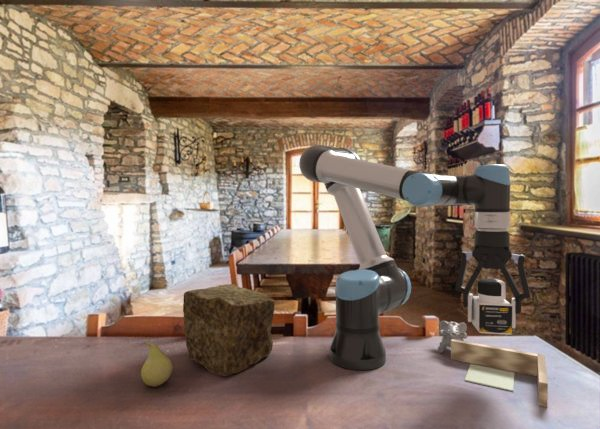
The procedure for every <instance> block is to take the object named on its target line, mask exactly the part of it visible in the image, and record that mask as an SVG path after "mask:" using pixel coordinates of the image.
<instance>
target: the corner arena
mask: <svg viewBox="0 0 600 429" xmlns="http://www.w3.org/2000/svg"><path fill="white" fill-rule="evenodd" d="M450 360H455V361H460V362H463V363H464V362H465V363H468V364H474V365H479V366H484V367H489V368H494V369H499V370H504V371H509V372H514V373H519V374H523V375H530V376H534V377H536V378H537V380H536V381H537V398H538V406H539V407H543V408H544V407H545V408H548V398H549V396H548V393H549V392H548V390H549V389H548V388H549V386H548V385H549V384H548V375H547V366H546V356H545V354H539V353H534V352H528V351H522V350H516V349H512V348H506V347H500V346H493V345H489V344H482V343H476V342H470V341H466V340H464V341H460V340H454V339H452V340H451V348H450Z"/></svg>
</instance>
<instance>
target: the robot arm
mask: <svg viewBox="0 0 600 429" xmlns="http://www.w3.org/2000/svg"><path fill="white" fill-rule="evenodd" d="M298 162H299V166H298V167H299V170H300V172H301V174H302V175H303V177H305V178H306V180H308V181H310V182H315V183H322V184H324V186H325V189H326V191H327V194H330V195H332V196H333V197H334V199H335V200H334V201H335V202H336V205H337V208H338V210H339V213H340V216H341V218H342V221H343V224H344V226H345V229H346V232H347V234H348V236H349V237H348V238H349V240H350V242H351V244H352V248H353V250H354V253H355V255H356V258H357V260H358V264H359V268H358V269H355V270H354V269H351V270H348V271H344V272H341V274H339V275H338V276H337V278H336V282H335V288H334V290H335V291H334V292H335V332H334V335H333V338H332V341H331V345H330V347H329V359H330V361H331V362H332V363H333V364H335V365H337V366H338V367H341V368H343V369H348V370H355V371H368V370H374V369H377V368H381V367H382V366H383V365H384V364H385V363H386V362H387V359H386V358H387V352H386V351H387V350H386V348H385V346H384V343H383V339H382V336H381V333H380V315H382V314H384V313H385V312H389V311H391V310H392V311H393V310H395V309H398V308H400V307H401V306H402V305H404V304H405V303H406V302H407V301H408V300H409V298H410V296H411V292H412V283H411V280H410V277H409V276H408V274H407V273H406V272H405V271H404V270H402V269H401V268H399V267H398V266H397V264H396V261H395V259H394V258H392V257H390V256H388V255H387V253H386V250H385V248H384V245H383V243H382V240H381V238H380V235H379V232H378V231H377V227H376V225H375V222H374V220H373V219H372V218H373V217H372V214H371V213H370V211H369V208H368V205H367V203H366V201H365V198H364V195H363V193H362V190H363V191H367V192H371V193H375V194H379V195H381V196H382V195H383V196H387V197H391V198H395V199H399V200H403V201H406V202H407V203H409V204H410V205H413V206H416V207H420V208H421V207H422V208H424V207H426V208H427V207H433V206H434V207H435V206H439V207H440V206H474V228H475V229H476V230H475V231H474V235H473V236H474V243H473V245H474V248H473V250H472V251H464V250H463V251H462V252H460V254H459V256H460V261H461V262H460V266H459V270H458V273H457V274H458V275H457V279H456V284H455V291H456V292H460V293H461V294H462V303H463V304H462V305H463V307H464V308H467V322H468V323H472V319H473V296H474V294H473V293H471V289H472V288H473V286H474V284H475V282H476V280H477V278H478V276H479V275H480V273H481V271H482V269H485V270H488V269H492V270H497V271H499V270H500V273H501V274H502V276H503V278H504V279H505V281H506V284H507V285H508V287H509V289H510V291H511V294H512V295H513V297H511V304H512V329H516V314H518V315H520V314H521V313H522V301H523V300H526V299H530V298H531V291H530V286H529V283H528V279H527V275H526V274H527V273H526V271H525V270H526V269H525V266H524V265H525V259H526V256H525V255H524V254H522V253H521V254H516V253H512V251H511V249H510V248H511V247H510V244H511V242H510V241H511V240H510V239H511V237H510V232H509V229H510V228H511V211H510V210H511V209H510V205H511V203H510V202H511V184H512V183H511V176H510V175H511V174H510V168H509V166H508V165H506V164H499V163H498V164H482V165H478V166H476V167H475V168H474V172H473V174H467V175H464V174H462V175H460V174H459V175H445V174H434V173H428V172H423V171H418V170H412V169H409V168H403V167H398V166H392V165H387V164H382V163H377V162H373V161H372V162H371V161H368V160H362V159H361V158H360V156H359V155H358V154H357V153H356V152H355V151H353V150H352V149H349V148H346V147H335V146H329V145H323V144H314V145H311V146H309V147H307V148H306V149H304V151H303V152H302V154H301V155H300V159H299V161H298ZM471 257H473V258H474V260H475V261H476V263H478V264H477V266H476V267H475V269H474V271H473V272H472V274H471V276H470V278H469V280H468V282H467V283H466V285H465V286H464V285H463V284H464V279H465V275H466V271H467V267H468V262H469V261H470V260H471ZM511 259H512V260H513V263H514V264H516V265H517V271H518V275H519V278H520V279H519V281H520V283H521V287H522V292H521V291H520V290H519V288H518V286H517V284H516V282H515V280H514V278H513V277H512V275H511V273H510V271H509V268H508V266H507V265H506V264H507V263H508V262H510V260H511Z"/></svg>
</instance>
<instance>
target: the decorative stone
mask: <svg viewBox="0 0 600 429" xmlns="http://www.w3.org/2000/svg"><path fill="white" fill-rule="evenodd" d="M182 311H183V312H182V313H183V328H184V336H185V346H186V350H187V351H188V352H187V354H188V355H187V357H188V359H189V360H193V361H195V362H196V363H197V364H198V365H202V366H203V367H204V368H205V369H206V370H208V372H209V373H213V374H216V375H219V376H223V377H228V376H229V375H231V374H234V373H239V372H241V371H243V370H245V369H247V368H248V367H249V366H250V365H254V364H257V363H258V362H259V361H260V360H261V359H263V358H265V357H269V356H270V355H271V353H272V350H273V345H274V342H273V341H274V340H273V335H272V333H271V330H272V324H273V319H274V316H275V300H274V299H273V297H272V298H271V297H270V296H269V295H267V294H266V293H262V292H258V291H255V290H252V289H248V288H245V287H241V286H239V285H237V284H234V283H231V284H222V285H216V286H211V287H206V288H199V289H192V290H187V291H184V293H183V306H182Z"/></svg>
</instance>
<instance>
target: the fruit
mask: <svg viewBox="0 0 600 429" xmlns="http://www.w3.org/2000/svg"><path fill="white" fill-rule="evenodd" d="M142 344H144V345H148V349H149V351H148V355H147V358H146V360H145V361H144V364H143V366H142V367H141V370H140V377H141V379H142V381H143V382H144V383H145V384H146V385H147V386H149V387H154V388H155V387H157V386H158V387H159V386H161V385H163V384H165V383H166V382H167V380H168V379H169V378H170V377H171V375H172V372H173V364H172V361H171V360H170V359H169V358H168V356H166V354H165V353H164V352H163V351H162V350H161V348H160V347H159V346H158V345H156V344H155V343H153V342H151V343H150V342H147V341H146V340H142Z"/></svg>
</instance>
